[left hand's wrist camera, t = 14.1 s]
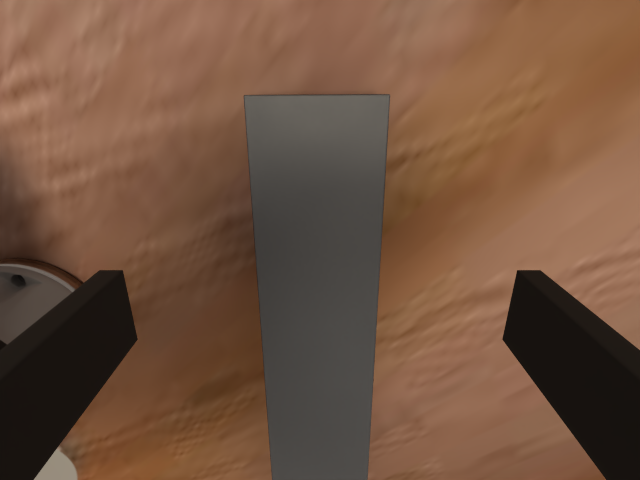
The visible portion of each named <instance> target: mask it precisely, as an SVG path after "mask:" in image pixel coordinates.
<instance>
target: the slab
mask: <svg viewBox="0 0 640 480" xmlns="http://www.w3.org/2000/svg"><path fill="white" fill-rule="evenodd" d="M389 104H390V95H389V94H332V95H244V106H245V119H246V133H247V146H248V160H249V173H250V187H251V200H252V214H253V227H254V241H255V254H256V268H257V281H258V295H259V308H260V322H261V335H262V349H263V362H264V376H265V389H266V403H267V416H268V430H269V443H270V457H271V470H272V480H367V478H368V461H369V444H370V427H371V410H372V393H373V376H374V359H375V342H376V325H377V308H378V291H379V274H380V257H381V240H382V223H383V206H384V189H385V172H386V155H387V138H388V121H389Z"/></svg>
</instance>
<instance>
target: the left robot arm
mask: <svg viewBox="0 0 640 480" xmlns="http://www.w3.org/2000/svg"><path fill="white" fill-rule="evenodd" d="M136 341H137V335H136V330H135V326H134V321H133V316H132V311H131V307H130V302H129V297H128V293H127V288H126V283H125V279H124V274H123V270H100V271H98V272H97V273H96V274H95V275H93V276H92V277H91V278H90V279H88V280H87V281H86V282H85V283H83V284H82V283H81V282H79V281H78V280H77V279H75V278H74V277H73V276H71V275H69V274H68V273H66V272H64V271H62V270H61V269H58V268H56V267H54V266H52V265H49V264H46V263H43V262H39V261H35V260H29V259H15V258H13V259H3V260H0V480H34V478H35V477H36V476H37V474H38V473H39V472H40V470H41V469H42V468H43V466H44V465H45V464H46V462H47V461H48V459H49V458H50V457H51V455H52V454H53V453H54V451H55V450H56V449H57V447H58V446H59V445H60V443H61V442H62V441H63V439H64V438H65V437H66V435H67V434H68V433H69V431H70V430H71V428H72V427H73V426H74V424H75V423H76V422H77V420H78V419H79V418H80V416H81V415H82V414H83V412H84V411H85V410H86V408H87V407H88V406H89V404H90V403H91V402H92V400H93V399H94V397H95V396H96V395H97V393H98V392H99V391H100V389H101V388H102V387H103V385H104V384H105V383H106V381H107V380H108V379H109V377H110V376H111V375H112V373H113V372H114V370H115V369H116V368H117V366H118V365H119V364H120V362H121V361H122V360H123V358H124V357H125V356H126V354H127V353H128V352H129V350H130V349H131V348H132V346H133V345H134V344H135V342H136ZM503 341H504V342H505V344H506V345H507V346H508V348H509V349H510V350H511V352H512V353H513V354H514V356H515V357H516V358H517V360H518V361H519V362H520V364H521V365H522V366H523V368H524V369H525V370H526V372H527V373H528V375H529V376H530V377H531V379H532V380H533V381H534V383H535V384H536V385H537V387H538V388H539V389H540V391H541V392H542V393H543V395H544V396H545V397H546V399H547V400H548V402H549V403H550V404H551V406H552V407H553V408H554V410H555V411H556V412H557V414H558V415H559V416H560V418H561V419H562V420H563V422H564V423H565V424H566V426H567V427H568V428H569V430H570V431H571V433H572V434H573V435H574V437H575V438H576V439H577V441H578V442H579V443H580V445H581V446H582V447H583V449H584V450H585V451H586V453H587V454H588V455H589V457H590V458H591V459H592V461H593V462H594V464H595V465H596V466H597V468H598V469H599V470H600V472H601V473H602V474H603V476H604V477H605V478H606V480H640V350H639V349H638V348H636V347H635V346H634V345H633V344H631V343H630V342H629V341H628V340H626V339H625V338H624V337H623V336H621V335H620V334H619V333H618V332H616V331H615V330H614V329H613V328H611V327H610V326H609V325H608V324H606V323H605V322H604V321H603V320H601V319H600V318H599V317H598V316H596V315H595V314H594V313H593V312H591V311H590V310H589V309H588V308H587V307H585V306H584V305H583V304H582V303H580V302H579V301H578V300H577V299H575V298H574V297H573V296H572V295H570V294H569V293H568V292H567V291H565V290H564V289H563V288H562V287H560V286H559V285H558V284H557V283H555V282H554V281H553V280H552V279H550V278H549V277H548V276H547V275H545V274H544V273H543V272H542V271H540V270H517V274H516V279H515V283H514V288H513V293H512V297H511V302H510V307H509V311H508V316H507V321H506V326H505V330H504V335H503Z"/></svg>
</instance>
